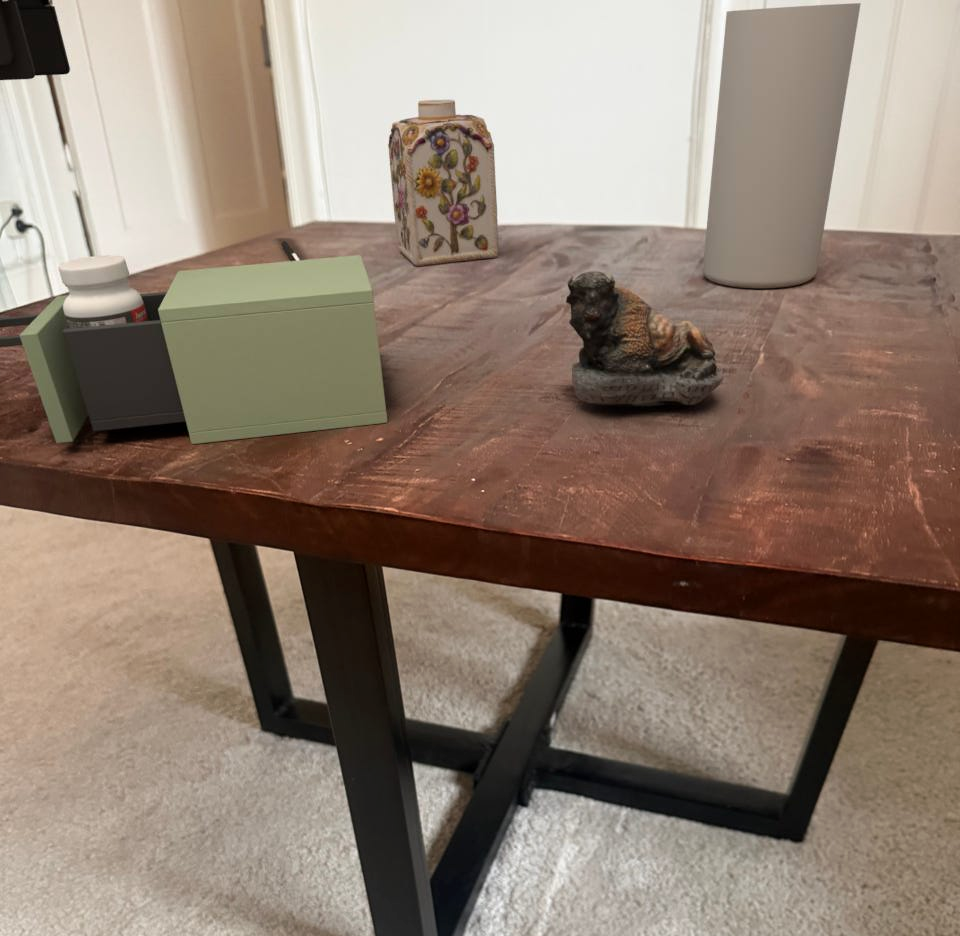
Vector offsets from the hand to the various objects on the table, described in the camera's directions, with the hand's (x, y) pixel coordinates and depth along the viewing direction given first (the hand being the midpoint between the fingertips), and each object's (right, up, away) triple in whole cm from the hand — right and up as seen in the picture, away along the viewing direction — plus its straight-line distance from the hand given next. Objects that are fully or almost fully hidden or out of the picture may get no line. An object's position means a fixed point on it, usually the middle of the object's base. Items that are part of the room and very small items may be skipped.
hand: (29, 77), depth 59 cm
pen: (+4, +15, +63) cm, 65 cm away
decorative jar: (+26, +14, +60) cm, 67 cm away
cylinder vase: (+62, +3, +41) cm, 75 cm away
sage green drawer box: (+15, -19, +12) cm, 27 cm away
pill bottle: (+3, -19, +10) cm, 22 cm away
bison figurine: (+43, -20, +8) cm, 48 cm away
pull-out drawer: (+2, -20, +10) cm, 23 cm away
